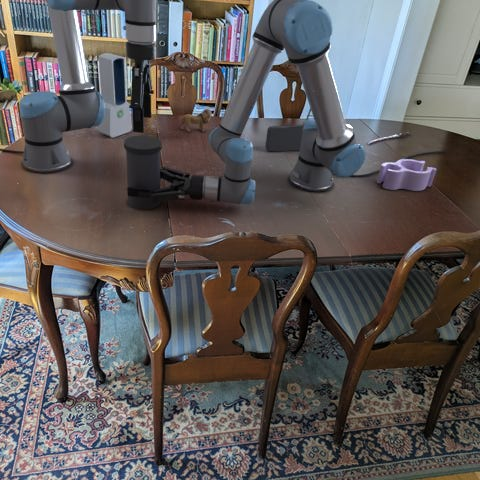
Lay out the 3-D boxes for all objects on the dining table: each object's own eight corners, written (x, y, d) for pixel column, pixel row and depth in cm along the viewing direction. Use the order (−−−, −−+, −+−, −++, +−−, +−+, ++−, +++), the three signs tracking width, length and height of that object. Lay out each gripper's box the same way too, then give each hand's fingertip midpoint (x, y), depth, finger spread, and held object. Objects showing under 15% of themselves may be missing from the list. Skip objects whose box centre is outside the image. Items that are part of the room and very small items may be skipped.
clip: (389, 193, 165) (394, 175, 161) (370, 177, 175) (375, 160, 171) (435, 189, 171) (441, 172, 167) (414, 174, 181) (420, 158, 177)
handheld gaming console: (315, 147, 196) (319, 124, 190) (317, 149, 194) (322, 126, 188) (264, 149, 189) (267, 125, 183) (266, 152, 187) (269, 127, 181)
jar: (150, 212, 139) (150, 152, 128) (122, 205, 141) (119, 145, 131) (165, 199, 147) (165, 141, 136) (138, 192, 149) (136, 135, 138)
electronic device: (110, 138, 183) (105, 58, 167) (97, 133, 186) (90, 54, 170) (132, 130, 192) (130, 54, 176) (119, 126, 195) (115, 50, 179)
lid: (150, 157, 129) (150, 152, 128) (116, 149, 131) (116, 144, 130) (168, 145, 137) (168, 140, 136) (136, 138, 140) (135, 132, 139)
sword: (406, 132, 223) (406, 130, 222) (411, 134, 221) (412, 132, 220) (362, 144, 207) (363, 141, 206) (368, 146, 205) (368, 143, 204)
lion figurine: (208, 127, 204) (210, 107, 199) (212, 131, 200) (213, 111, 195) (176, 128, 199) (176, 107, 195) (179, 132, 195) (179, 111, 190)
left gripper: (135, 32, 129) (137, 109, 140) (115, 49, 108) (119, 138, 120) (162, 35, 129) (162, 112, 141) (147, 52, 109) (149, 141, 120)
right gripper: (199, 219, 132) (123, 212, 132) (206, 181, 153) (141, 175, 152) (200, 195, 128) (122, 188, 128) (207, 160, 149) (140, 153, 148)
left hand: (142, 124), depth 130 cm, fingers open, 12 cm apart
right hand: (132, 181), depth 140 cm, fingers open, 12 cm apart
